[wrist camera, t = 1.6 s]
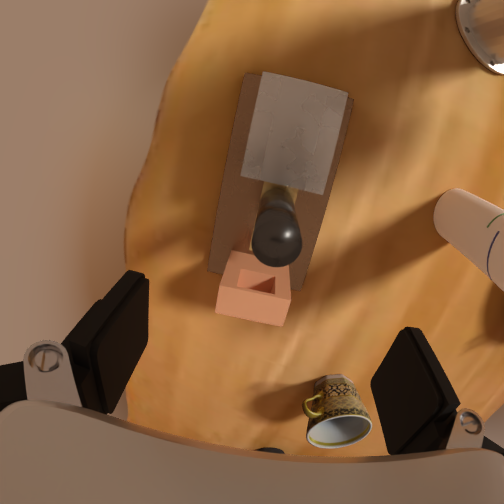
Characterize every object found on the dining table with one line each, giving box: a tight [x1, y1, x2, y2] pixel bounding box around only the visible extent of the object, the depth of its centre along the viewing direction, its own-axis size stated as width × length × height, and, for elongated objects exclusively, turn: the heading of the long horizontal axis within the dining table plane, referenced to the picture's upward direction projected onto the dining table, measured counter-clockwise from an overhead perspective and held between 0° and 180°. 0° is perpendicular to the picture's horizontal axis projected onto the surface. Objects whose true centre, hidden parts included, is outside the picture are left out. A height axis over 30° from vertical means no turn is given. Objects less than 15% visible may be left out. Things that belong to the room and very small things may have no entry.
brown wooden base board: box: [207, 71, 354, 291], centre depth 29 cm, size 24×12×9 cm, turn 168°
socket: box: [215, 250, 291, 327], centre depth 33 cm, size 3×7×8 cm, turn 78°
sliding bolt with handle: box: [249, 181, 302, 267], centre depth 22 cm, size 16×3×12 cm, turn 168°
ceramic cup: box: [302, 374, 372, 448], centre depth 41 cm, size 13×10×10 cm
